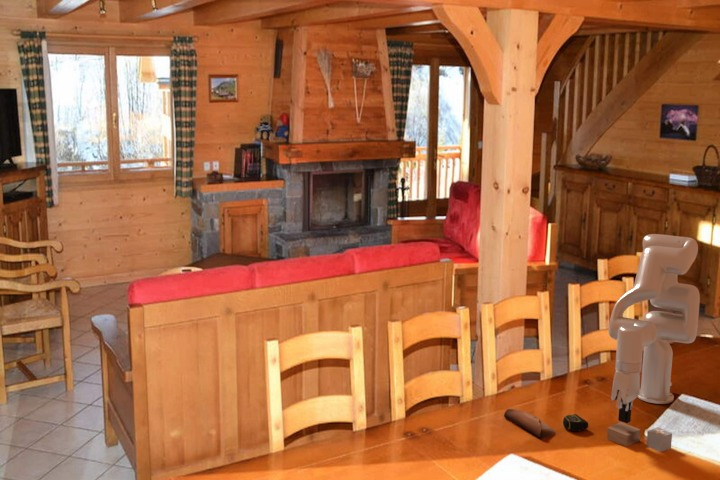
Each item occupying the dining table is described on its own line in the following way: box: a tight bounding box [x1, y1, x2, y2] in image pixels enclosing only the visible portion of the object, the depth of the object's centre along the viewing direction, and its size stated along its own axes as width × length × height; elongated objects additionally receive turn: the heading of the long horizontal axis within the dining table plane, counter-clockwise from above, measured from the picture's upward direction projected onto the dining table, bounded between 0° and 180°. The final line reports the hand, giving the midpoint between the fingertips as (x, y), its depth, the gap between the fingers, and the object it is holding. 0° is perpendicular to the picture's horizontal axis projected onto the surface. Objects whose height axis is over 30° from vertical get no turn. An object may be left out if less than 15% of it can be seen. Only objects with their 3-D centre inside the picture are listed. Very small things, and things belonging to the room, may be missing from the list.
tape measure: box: [562, 413, 589, 432], centre depth 245 cm, size 7×7×4 cm
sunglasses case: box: [503, 408, 558, 440], centre depth 247 cm, size 18×7×7 cm
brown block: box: [606, 421, 641, 448], centre depth 237 cm, size 7×7×4 cm
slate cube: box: [646, 426, 673, 453], centre depth 232 cm, size 5×5×5 cm
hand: (624, 421), depth 236 cm, fingers closed
